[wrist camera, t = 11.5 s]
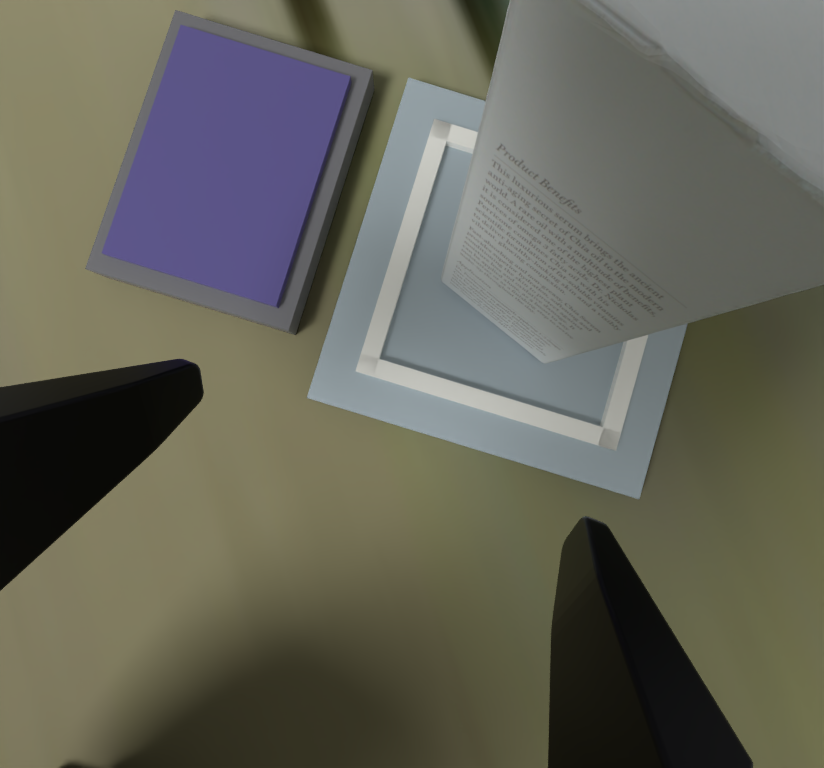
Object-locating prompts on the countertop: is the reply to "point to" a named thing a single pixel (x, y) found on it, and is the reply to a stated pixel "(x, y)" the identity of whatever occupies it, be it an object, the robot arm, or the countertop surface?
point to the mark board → (474, 330)
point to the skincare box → (643, 168)
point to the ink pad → (233, 172)
